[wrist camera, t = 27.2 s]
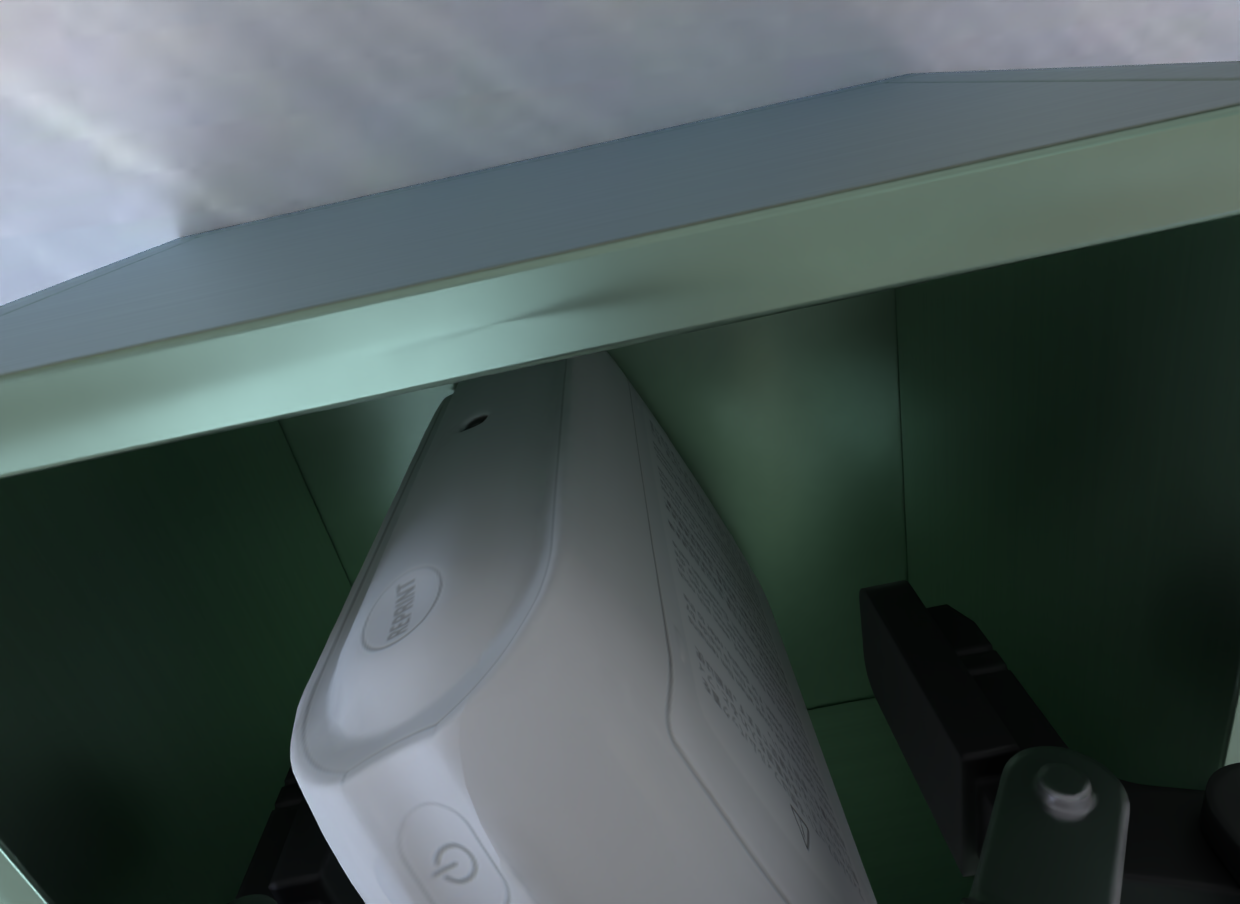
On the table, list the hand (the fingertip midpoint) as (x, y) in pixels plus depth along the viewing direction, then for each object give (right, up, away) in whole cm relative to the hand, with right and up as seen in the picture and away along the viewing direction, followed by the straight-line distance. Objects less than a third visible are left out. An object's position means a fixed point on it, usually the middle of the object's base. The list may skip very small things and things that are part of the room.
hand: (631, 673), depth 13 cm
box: (0, +3, +7) cm, 7 cm away
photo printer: (0, +3, +6) cm, 6 cm away
